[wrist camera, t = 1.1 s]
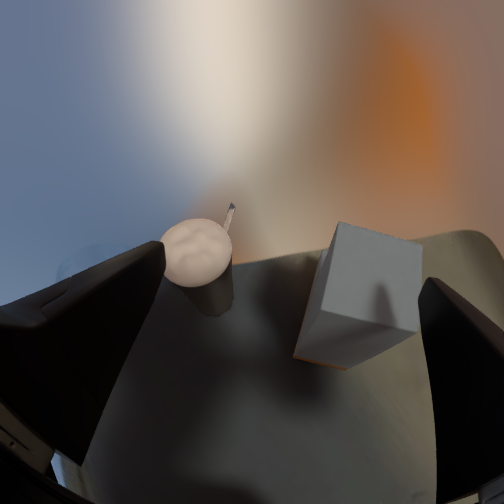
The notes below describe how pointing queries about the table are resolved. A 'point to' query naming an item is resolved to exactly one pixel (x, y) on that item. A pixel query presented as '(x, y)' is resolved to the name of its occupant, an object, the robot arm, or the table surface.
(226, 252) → the milkshake
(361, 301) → the grey stepped block
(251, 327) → the table surface
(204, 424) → the table surface
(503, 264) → the table surface
